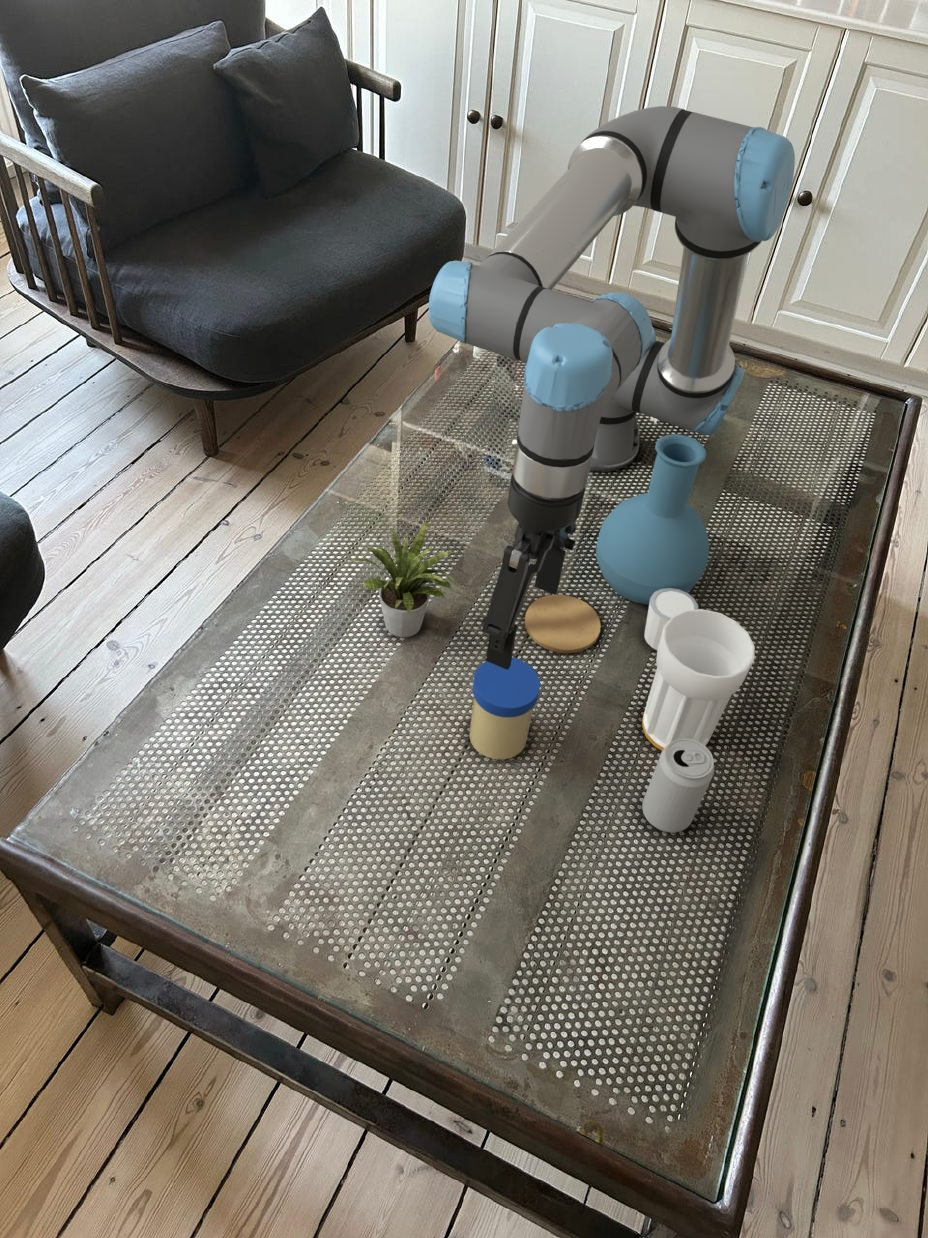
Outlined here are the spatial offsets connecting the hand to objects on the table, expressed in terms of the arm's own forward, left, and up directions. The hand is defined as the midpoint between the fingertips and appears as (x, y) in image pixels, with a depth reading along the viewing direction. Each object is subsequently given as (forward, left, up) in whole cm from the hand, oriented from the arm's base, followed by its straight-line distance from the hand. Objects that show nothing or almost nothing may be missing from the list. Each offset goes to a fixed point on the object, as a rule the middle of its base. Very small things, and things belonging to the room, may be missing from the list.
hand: (522, 624), depth 113 cm
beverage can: (+18, +14, -22) cm, 31 cm away
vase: (-19, +32, -22) cm, 43 cm away
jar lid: (0, -1, -11) cm, 11 cm away
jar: (0, -1, -21) cm, 21 cm away
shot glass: (-8, +29, -22) cm, 37 cm away
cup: (+7, +22, -22) cm, 32 cm away
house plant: (-22, -7, -22) cm, 32 cm away
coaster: (-15, +16, -21) cm, 31 cm away
